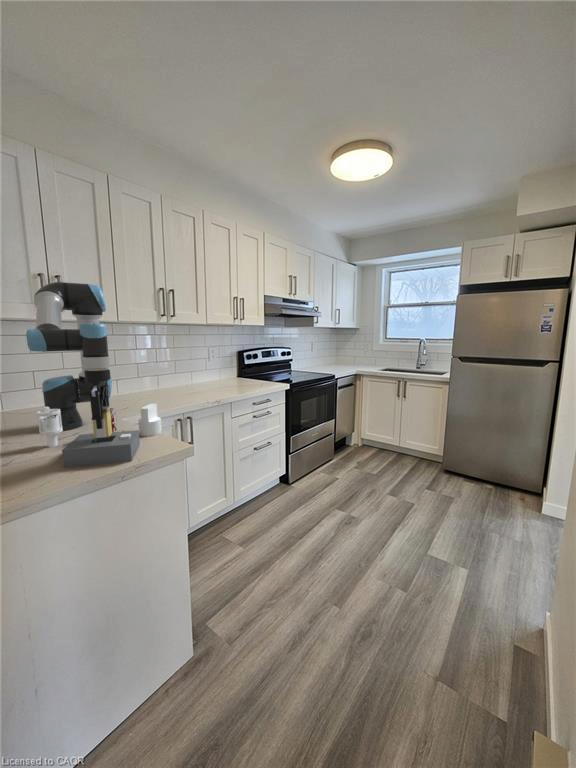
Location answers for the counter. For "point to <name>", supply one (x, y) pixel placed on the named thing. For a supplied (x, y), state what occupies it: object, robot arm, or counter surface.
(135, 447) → the socket board
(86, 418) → the counter surface
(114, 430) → the soda can
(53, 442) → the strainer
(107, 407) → the rectangular block
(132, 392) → the counter surface
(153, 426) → the cylinder with rectangular tab
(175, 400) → the counter surface
